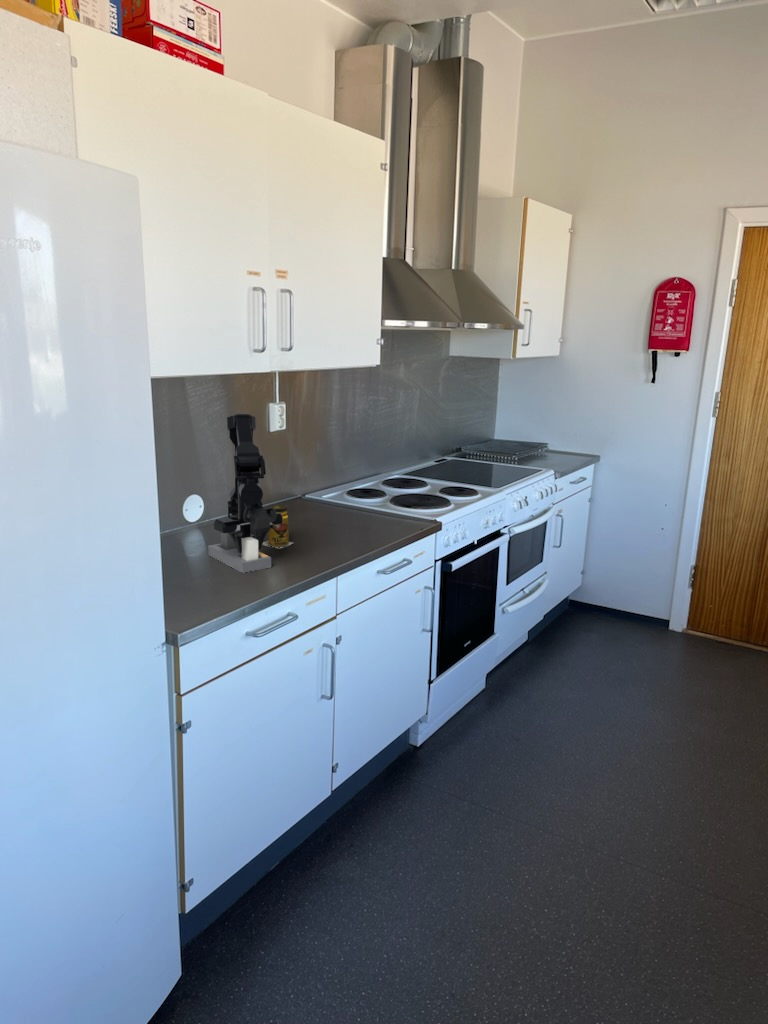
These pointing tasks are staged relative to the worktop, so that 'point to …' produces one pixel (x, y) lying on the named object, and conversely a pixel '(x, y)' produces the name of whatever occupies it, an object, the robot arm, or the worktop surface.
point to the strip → (239, 559)
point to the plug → (249, 548)
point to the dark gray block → (227, 541)
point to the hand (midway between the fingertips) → (249, 551)
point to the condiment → (279, 530)
